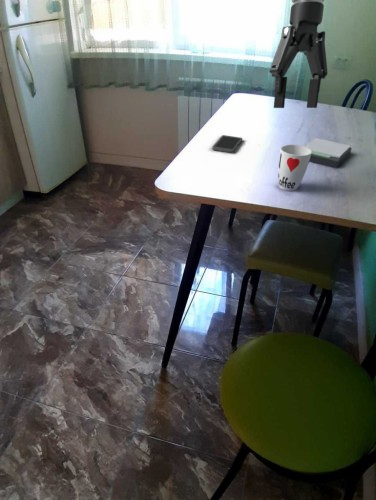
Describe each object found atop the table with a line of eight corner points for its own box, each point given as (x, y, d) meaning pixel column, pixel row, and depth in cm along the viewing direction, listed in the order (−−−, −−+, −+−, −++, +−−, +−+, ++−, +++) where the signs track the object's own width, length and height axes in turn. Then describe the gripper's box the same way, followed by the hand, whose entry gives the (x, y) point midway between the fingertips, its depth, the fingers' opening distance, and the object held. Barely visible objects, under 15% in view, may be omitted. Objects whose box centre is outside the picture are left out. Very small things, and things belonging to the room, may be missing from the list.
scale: (349, 154, 136) (352, 146, 134) (335, 168, 126) (338, 159, 125) (312, 145, 141) (314, 137, 139) (296, 158, 131) (298, 149, 129)
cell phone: (242, 139, 142) (243, 137, 141) (233, 153, 132) (233, 150, 131) (222, 136, 143) (222, 134, 143) (211, 149, 133) (211, 147, 133)
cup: (267, 185, 115) (274, 148, 108) (285, 178, 119) (293, 142, 112) (291, 195, 111) (299, 157, 104) (308, 188, 115) (317, 151, 108)
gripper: (324, 12, 105) (312, 107, 115) (259, -2, 91) (252, 108, 101) (351, 8, 100) (336, 107, 110) (286, -8, 86) (275, 108, 96)
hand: (295, 108), depth 106 cm, fingers open, 13 cm apart
